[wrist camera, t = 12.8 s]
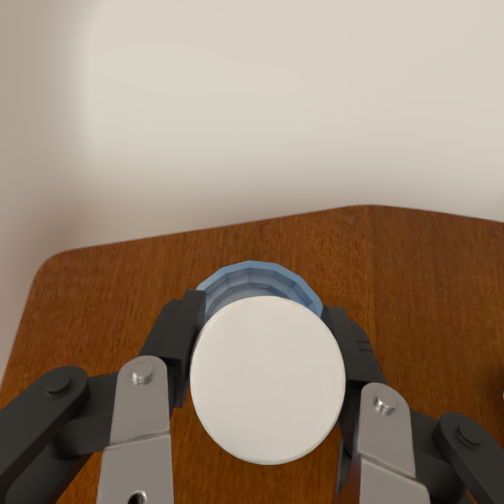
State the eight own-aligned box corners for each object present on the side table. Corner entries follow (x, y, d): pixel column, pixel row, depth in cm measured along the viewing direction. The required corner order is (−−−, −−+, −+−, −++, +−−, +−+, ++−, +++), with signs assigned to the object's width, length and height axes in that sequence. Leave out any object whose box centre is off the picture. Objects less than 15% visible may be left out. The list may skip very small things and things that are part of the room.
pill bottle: (306, 399, 15) (387, 464, 7) (213, 419, 14) (183, 513, 6) (286, 306, 16) (334, 268, 8) (200, 321, 16) (163, 297, 8)
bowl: (179, 395, 25) (165, 408, 20) (201, 268, 28) (193, 253, 23) (310, 410, 25) (327, 427, 20) (316, 282, 28) (331, 270, 23)
